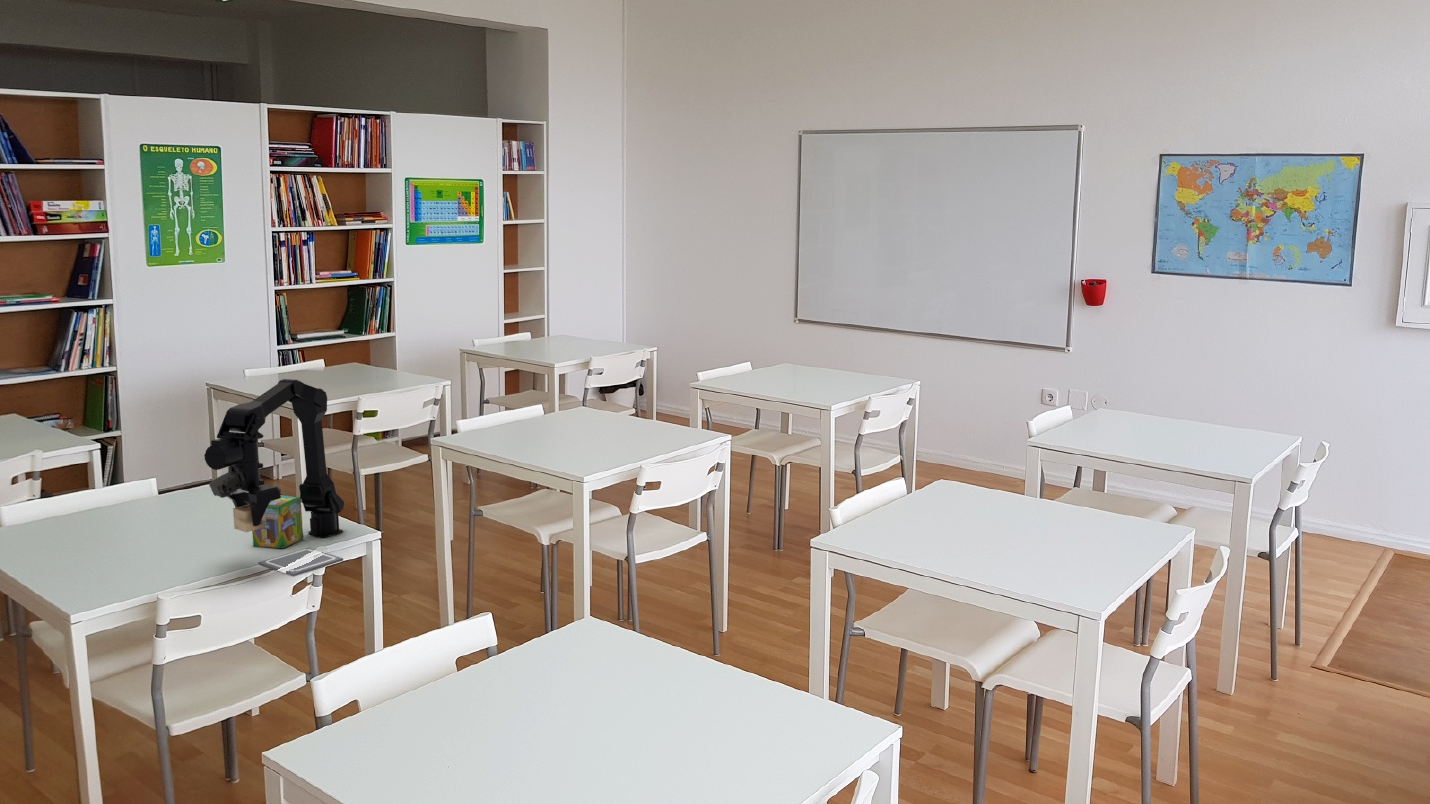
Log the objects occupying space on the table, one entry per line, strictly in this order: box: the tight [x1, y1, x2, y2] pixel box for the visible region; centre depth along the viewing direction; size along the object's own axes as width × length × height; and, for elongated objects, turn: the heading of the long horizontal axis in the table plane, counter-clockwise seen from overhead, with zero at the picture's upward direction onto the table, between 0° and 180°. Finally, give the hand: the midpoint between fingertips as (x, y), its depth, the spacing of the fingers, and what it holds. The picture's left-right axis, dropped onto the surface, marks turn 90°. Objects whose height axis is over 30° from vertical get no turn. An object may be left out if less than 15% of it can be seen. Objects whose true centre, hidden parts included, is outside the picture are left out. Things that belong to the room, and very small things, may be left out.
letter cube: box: [232, 505, 265, 533], centre depth 264 cm, size 5×5×5 cm
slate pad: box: [257, 547, 344, 577], centre depth 271 cm, size 14×14×1 cm
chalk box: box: [251, 484, 304, 549], centre depth 284 cm, size 9×9×15 cm
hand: (250, 523), depth 264 cm, fingers closed on letter cube, 5 cm apart
